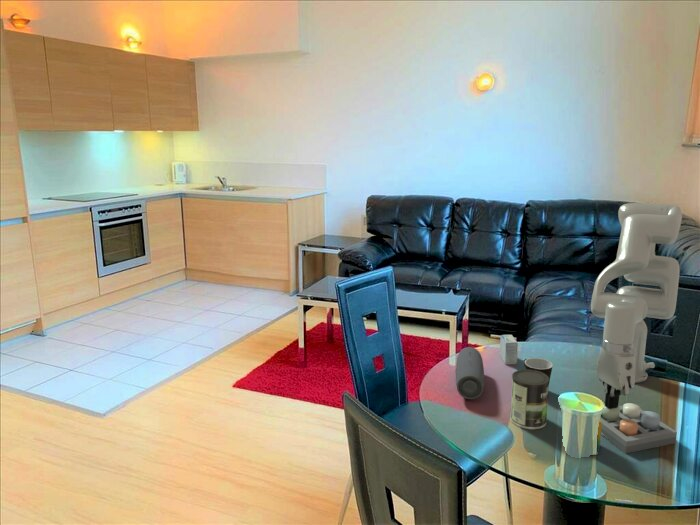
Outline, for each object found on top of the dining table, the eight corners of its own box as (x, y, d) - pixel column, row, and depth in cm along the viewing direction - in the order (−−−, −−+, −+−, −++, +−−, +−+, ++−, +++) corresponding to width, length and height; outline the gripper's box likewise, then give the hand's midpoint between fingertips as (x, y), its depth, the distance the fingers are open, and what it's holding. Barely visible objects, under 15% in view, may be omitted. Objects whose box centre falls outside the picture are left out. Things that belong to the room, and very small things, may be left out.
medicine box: (517, 364, 196) (518, 342, 194) (504, 365, 196) (505, 342, 194) (511, 355, 204) (512, 334, 202) (499, 356, 204) (500, 334, 202)
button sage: (611, 411, 156) (612, 401, 155) (622, 419, 152) (623, 409, 151) (598, 414, 155) (599, 404, 154) (609, 421, 151) (610, 411, 150)
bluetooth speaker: (455, 370, 193) (456, 344, 191) (482, 372, 191) (483, 346, 189) (454, 402, 172) (455, 373, 169) (484, 404, 170) (485, 375, 167)
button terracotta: (628, 428, 150) (630, 418, 149) (640, 436, 146) (642, 426, 145) (615, 430, 149) (616, 420, 148) (627, 439, 145) (628, 428, 144)
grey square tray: (631, 414, 161) (632, 403, 160) (675, 443, 146) (676, 431, 145) (585, 422, 157) (586, 411, 157) (625, 453, 142) (626, 441, 142)
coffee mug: (552, 398, 171) (554, 370, 169) (524, 397, 173) (526, 368, 171) (547, 382, 182) (549, 354, 180) (520, 380, 184) (522, 353, 182)
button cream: (631, 412, 158) (632, 402, 157) (643, 419, 154) (644, 409, 153) (618, 414, 157) (619, 404, 156) (629, 422, 153) (631, 411, 152)
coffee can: (550, 416, 161) (553, 373, 158) (542, 433, 153) (544, 388, 149) (515, 408, 167) (517, 366, 163) (505, 423, 158) (507, 380, 155)
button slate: (650, 420, 151) (651, 409, 150) (663, 428, 147) (664, 417, 146) (637, 422, 150) (638, 412, 149) (649, 431, 146) (650, 420, 145)
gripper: (649, 354, 142) (642, 418, 146) (610, 335, 156) (604, 393, 160) (625, 358, 140) (618, 422, 144) (587, 338, 154) (582, 396, 158)
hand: (611, 406), depth 152 cm, fingers closed
